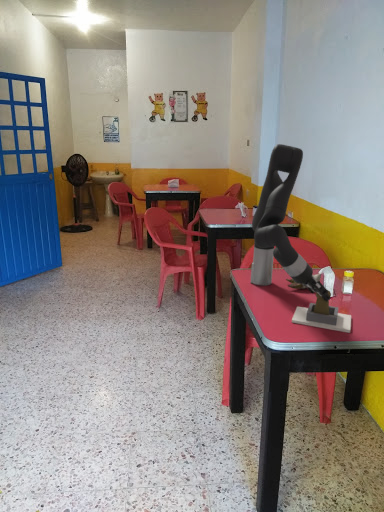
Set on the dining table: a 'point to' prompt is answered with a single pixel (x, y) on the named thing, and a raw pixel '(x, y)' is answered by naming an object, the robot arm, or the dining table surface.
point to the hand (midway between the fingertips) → (321, 295)
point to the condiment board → (322, 318)
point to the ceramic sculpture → (296, 285)
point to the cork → (321, 305)
